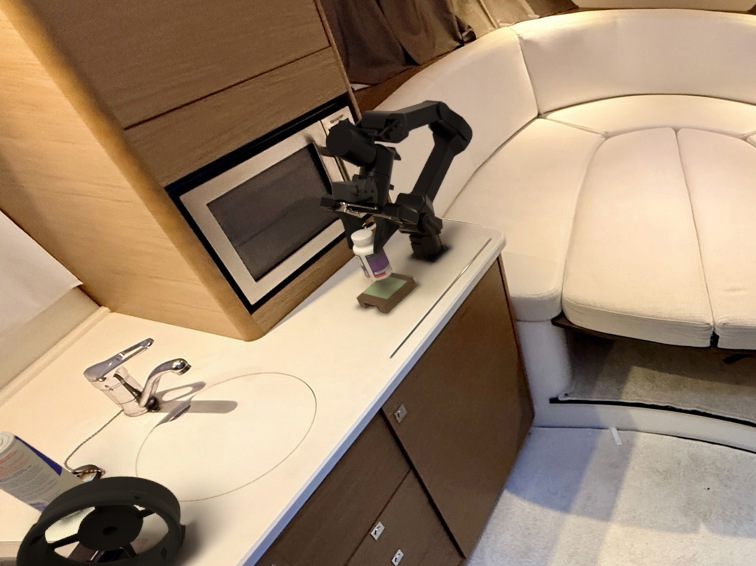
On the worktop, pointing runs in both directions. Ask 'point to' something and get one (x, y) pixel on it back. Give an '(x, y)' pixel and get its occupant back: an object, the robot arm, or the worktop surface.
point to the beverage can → (31, 473)
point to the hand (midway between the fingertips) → (363, 251)
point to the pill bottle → (370, 256)
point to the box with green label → (387, 292)
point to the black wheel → (107, 523)
